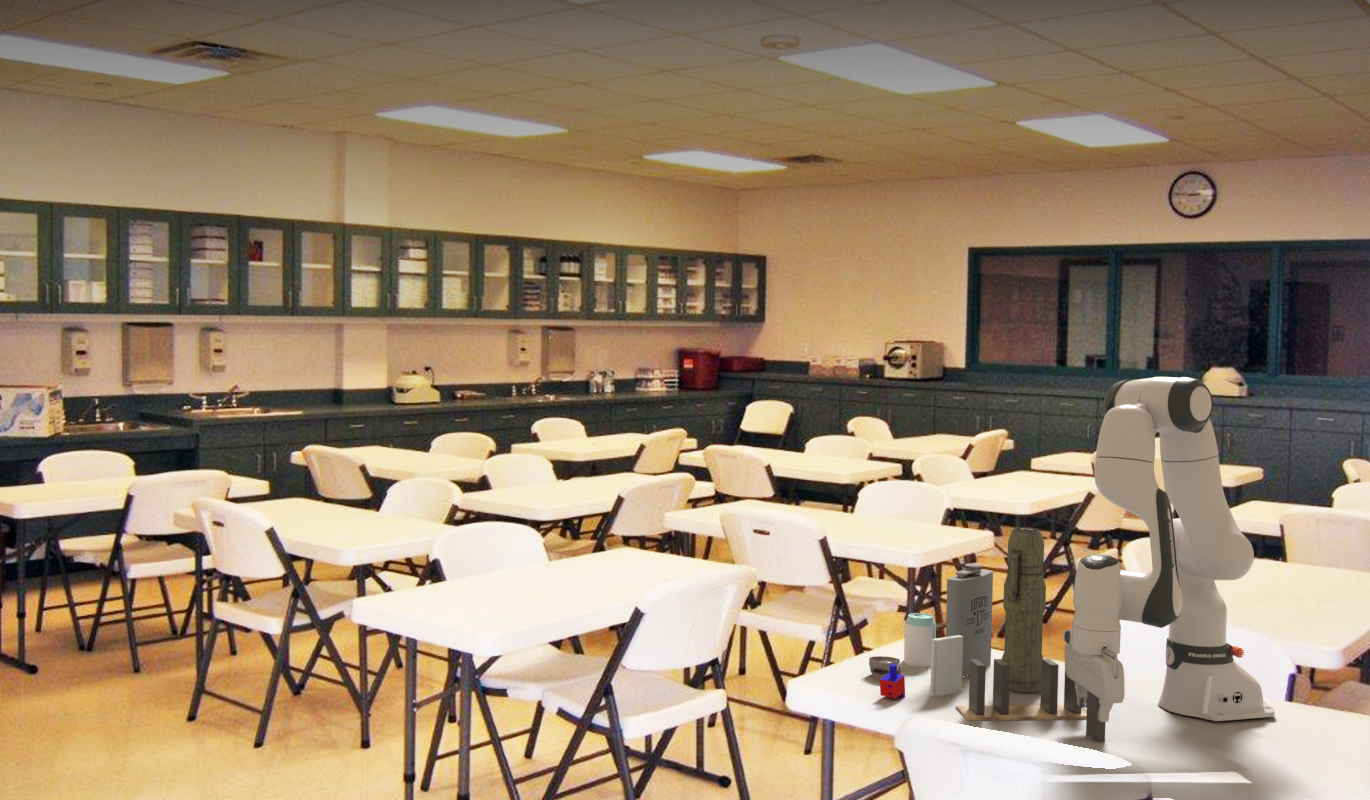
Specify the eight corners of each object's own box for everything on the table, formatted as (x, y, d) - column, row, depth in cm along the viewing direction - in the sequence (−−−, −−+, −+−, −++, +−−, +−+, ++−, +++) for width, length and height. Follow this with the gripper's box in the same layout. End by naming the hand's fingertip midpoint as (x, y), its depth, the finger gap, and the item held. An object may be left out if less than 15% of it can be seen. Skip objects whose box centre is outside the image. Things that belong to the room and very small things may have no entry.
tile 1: (976, 708, 264) (977, 659, 263) (984, 715, 259) (985, 665, 258) (968, 708, 264) (969, 659, 263) (976, 715, 259) (977, 665, 258)
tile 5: (1071, 706, 266) (1072, 658, 265) (1081, 713, 261) (1082, 664, 260) (1063, 706, 266) (1065, 658, 265) (1073, 713, 261) (1074, 664, 260)
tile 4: (1047, 707, 265) (1049, 658, 265) (1057, 714, 260) (1058, 664, 260) (1040, 707, 265) (1041, 658, 265) (1049, 714, 260) (1050, 664, 260)
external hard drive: (962, 693, 277) (964, 636, 276) (934, 699, 272) (936, 640, 271) (957, 692, 278) (958, 634, 277) (929, 697, 273) (930, 639, 273)
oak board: (1078, 707, 268) (1078, 704, 267) (1094, 718, 260) (1094, 715, 260) (955, 709, 265) (955, 706, 265) (968, 720, 257) (968, 717, 257)
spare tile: (1093, 733, 250) (1095, 682, 249) (1104, 741, 245) (1106, 689, 244) (1085, 733, 250) (1087, 682, 249) (1096, 741, 245) (1098, 689, 244)
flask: (961, 682, 286) (963, 569, 285) (942, 678, 289) (945, 567, 288) (996, 667, 299) (999, 560, 298) (977, 664, 302) (980, 557, 301)
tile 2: (1000, 707, 264) (1001, 659, 264) (1008, 714, 259) (1010, 665, 259) (992, 707, 264) (993, 659, 264) (1000, 714, 259) (1002, 665, 259)
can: (898, 667, 299) (899, 615, 298) (913, 661, 304) (914, 610, 303) (925, 672, 294) (926, 620, 293) (940, 666, 299) (941, 615, 299)
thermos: (1051, 687, 283) (1056, 527, 281) (1031, 698, 273) (1036, 533, 272) (1012, 680, 288) (1017, 523, 287) (992, 691, 279) (996, 529, 277)
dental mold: (883, 675, 291) (884, 653, 291) (908, 681, 286) (908, 659, 286) (860, 681, 286) (861, 659, 285) (885, 688, 281) (886, 665, 280)
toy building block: (880, 703, 270) (879, 666, 269) (889, 696, 274) (888, 659, 272) (896, 706, 268) (894, 669, 267) (905, 698, 271) (903, 662, 270)
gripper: (1135, 655, 236) (1131, 730, 237) (1090, 630, 257) (1087, 699, 257) (1101, 654, 236) (1098, 729, 236) (1059, 629, 256) (1057, 699, 257)
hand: (1092, 713), depth 247 cm, fingers open, 8 cm apart
